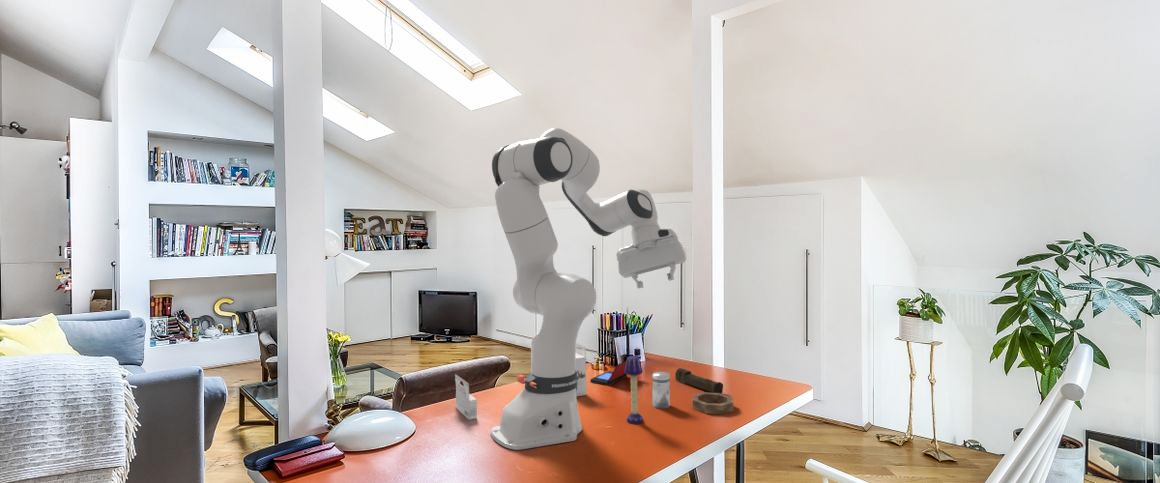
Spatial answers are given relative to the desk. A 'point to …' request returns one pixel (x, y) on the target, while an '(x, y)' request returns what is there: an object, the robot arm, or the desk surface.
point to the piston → (661, 390)
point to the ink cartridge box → (465, 399)
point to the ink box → (580, 369)
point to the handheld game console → (611, 375)
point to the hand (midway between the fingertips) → (655, 283)
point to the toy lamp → (634, 388)
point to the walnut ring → (712, 403)
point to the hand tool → (698, 381)
